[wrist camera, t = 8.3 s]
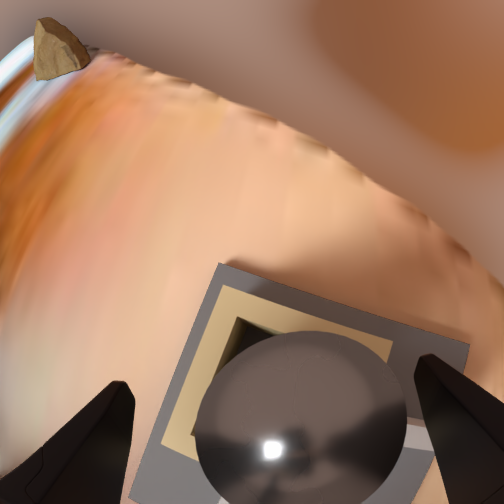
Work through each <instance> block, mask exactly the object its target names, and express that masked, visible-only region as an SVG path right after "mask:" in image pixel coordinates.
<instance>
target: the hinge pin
mask: <svg viewBox="0 0 504 504" xmlns="http://www.w3.org/2000/svg"><path fill="white" fill-rule="evenodd" d="M406 431H407V408H406V403H405V398H404V395H403V392H402V389H401V386H400V384H399V382H398V380H397V378H396V376H395V375H394V373H393V372H392V370H391V369H390V368H389V366H388V365H387V364H386V363H385V362H384V361H383V360H382V359H381V358H380V357H379V356H378V355H377V354H376V353H375V352H373V351H372V350H371V349H369V348H368V347H366V346H365V345H363V344H361V343H359V342H358V341H355V340H353V339H351V338H348V337H346V336H342V335H339V334H335V333H330V332H323V331H297V332H289V333H285V334H281V335H276V336H273V337H271V338H268V339H265V340H262V341H260V342H258V343H256V344H254V345H252V346H250V347H248V348H247V349H245V350H244V351H242V352H241V353H240V354H238V355H237V356H235V357H234V358H233V359H232V360H231V361H230V362H228V363H227V364H226V365H225V366H224V367H223V368H222V370H221V371H220V372H219V373H218V374H217V375H216V376H215V378H214V379H213V381H212V382H211V384H210V385H209V387H208V388H207V390H206V392H205V394H204V396H203V398H202V401H201V404H200V407H199V410H198V413H197V419H196V424H195V444H196V452H197V455H198V459H199V463H200V465H201V467H202V470H203V472H204V474H205V476H206V477H207V479H208V481H209V482H210V484H211V485H212V487H213V488H214V489H215V490H216V491H217V492H218V494H219V495H220V496H221V497H223V498H224V499H225V500H226V501H227V502H228V503H229V504H361V503H362V502H363V501H365V500H366V499H367V498H369V497H370V496H371V495H372V494H373V493H374V492H375V491H376V490H377V489H378V488H379V487H380V486H381V485H382V484H383V483H384V481H385V480H386V479H387V478H388V476H389V475H390V473H391V472H392V470H393V469H394V467H395V465H396V463H397V461H398V459H399V457H400V454H401V451H402V449H403V446H404V441H405V437H406Z"/></svg>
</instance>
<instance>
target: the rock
mask: <svg viewBox="0 0 504 504" xmlns="http://www.w3.org/2000/svg"><path fill="white" fill-rule="evenodd" d="M90 60H91V59H90V56H89V54H88V53H87V50H86V48H85V47H84V46H83V45H82V43H81V42H80V41H79V39H78V38H77V37H76V36H75V35H73V33H72V32H71V31H69V30H68V29H67V28H66V27H65V26H63V25H61V24H60V23H58V22H57V21H56V20H54V19H53V18H50V17H46V18H42V19H38V20H37V22H36V28H35V35H34V58H33V62H34V63H33V65H34V72H35V74H36V81H38V80H49V79H53V78H55V77H58V76H60V75H63V74H67V73H69V72H71V71H76V70H79V69H82V68H83V67H84V66H85V65H86V64H87V63H89V62H90Z"/></svg>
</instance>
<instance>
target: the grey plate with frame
mask: <svg viewBox="0 0 504 504" xmlns="http://www.w3.org/2000/svg"><path fill="white" fill-rule="evenodd" d="M297 331H323V332H330V333H335V334H339V335H342V336H346V337H348V338H351V339H353V340H355V341H358V342H359V343H361V344H363V345H365V346H366V347H368V348H369V349H371V350H372V351H373V352H375V353H376V354H377V355H378V356H379V357H380V358H381V359H382V360H383V361H384V362H385V363H386V364H387V365H388V366H389V368H390V369H391V370H392V372H393V373H394V375H395V376H396V378H397V380H398V382H399V384H400V386H401V389H402V392H403V395H404V398H405V403H406V408H407V431H406V437H405V441H404V446H403V449H402V451H401V454H400V457H399V459H398V461H397V463H396V465H395V467H394V469H393V470H392V472H391V473H390V475H389V476H388V478H387V479H386V480H385V481H384V483H383V484H382V485H381V486H380V487H379V488H378V489H377V490H376V491H375V492H374V493H373V494H372V495H371V496H370V497H369V498H367V499H366V500H365V501H363V502H362V503H361V504H411V503H412V501H413V499H414V497H415V495H416V493H417V491H418V489H419V488H420V486H421V484H422V482H423V480H424V478H425V475H426V473H427V471H428V469H429V467H430V465H431V463H432V460H433V458H434V456H435V453H434V450H433V447H432V443H431V440H430V437H429V434H428V432H427V429H426V426H425V423H424V419H423V415H422V411H421V407H420V403H419V398H418V394H417V390H416V386H415V382H414V371H415V368H416V365H417V362H418V359H419V357H420V356H421V355H424V354H429V353H432V354H435V355H436V356H437V357H439V358H440V359H442V360H443V361H445V362H446V363H447V364H449V365H450V366H452V367H453V368H455V369H456V370H457V371H459V372H460V373H462V374H463V372H464V368H465V364H466V360H467V356H468V352H469V347H470V344H467V343H464V342H460V341H457V340H454V339H450V338H447V337H444V336H440V335H437V334H434V333H431V332H428V331H424V330H421V329H418V328H415V327H411V326H408V325H405V324H402V323H399V322H396V321H392V320H389V319H386V318H383V317H380V316H377V315H374V314H371V313H367V312H364V311H361V310H358V309H355V308H352V307H349V306H346V305H343V304H340V303H337V302H334V301H331V300H328V299H325V298H322V297H319V296H316V295H313V294H310V293H307V292H304V291H301V290H298V289H295V288H292V287H289V286H286V285H283V284H280V283H277V282H274V281H271V280H268V279H265V278H262V277H259V276H257V275H254V274H251V273H248V272H245V271H242V270H239V269H236V268H233V267H231V266H228V265H225V264H222V263H218V266H217V268H216V270H215V273H214V275H213V278H212V280H211V283H210V285H209V287H208V290H207V292H206V295H205V297H204V300H203V302H202V304H201V307H200V309H199V312H198V314H197V317H196V319H195V322H194V324H193V327H192V329H191V332H190V334H189V337H188V339H187V342H186V344H185V347H184V349H183V352H182V354H181V357H180V359H179V362H178V364H177V367H176V370H175V372H174V375H173V377H172V380H171V382H170V385H169V388H168V390H167V393H166V395H165V398H164V401H163V403H162V406H161V409H160V411H159V414H158V417H157V419H156V422H155V425H154V427H153V430H152V433H151V435H150V438H149V441H148V443H147V446H146V449H145V452H144V454H143V457H142V460H141V463H140V465H139V468H138V471H137V474H136V477H135V479H134V482H133V485H132V488H131V491H130V494H129V496H128V498H130V499H132V500H133V501H135V502H137V503H139V504H229V503H228V502H227V501H226V500H225V499H224V498H223V497H221V496H220V495H219V494H218V492H217V491H216V490H215V489H214V488H213V487H212V485H211V484H210V482H209V481H208V479H207V477H206V476H205V474H204V472H203V470H202V467H201V465H200V463H199V459H198V455H197V452H196V444H195V424H196V419H197V413H198V410H199V407H200V404H201V401H202V398H203V396H204V394H205V392H206V390H207V388H208V387H209V385H210V384H211V382H212V381H213V379H214V378H215V376H216V375H217V374H218V373H219V372H220V371H221V370H222V368H223V367H224V366H225V365H226V364H227V363H228V362H230V361H231V360H232V359H233V358H234V357H235V356H237V355H238V354H240V353H241V352H242V351H244V350H245V349H247V348H248V347H250V346H252V345H254V344H256V343H258V342H260V341H262V340H265V339H268V338H271V337H273V336H276V335H281V334H285V333H289V332H297Z"/></svg>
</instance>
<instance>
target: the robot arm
mask: <svg viewBox="0 0 504 504" xmlns="http://www.w3.org/2000/svg"><path fill="white" fill-rule="evenodd" d="M414 382H415V386H416V390H417V394H418V398H419V403H420V407H421V411H422V415H423V419H424V423H425V426H426V429H427V432H428V434H429V437H430V440H431V443H432V447H433V450H434V453H435V456H436V459H437V462H438V466H439V469H440V472H441V476H442V479H443V483H444V486H445V490H446V494H447V497H448V501H449V504H504V403H503V402H501V401H500V400H498V399H497V398H496V397H494V396H493V395H491V394H490V393H489V392H487V391H486V390H484V389H483V388H482V387H480V386H479V385H477V384H476V383H475V382H473V381H472V380H470V379H469V378H467V377H466V376H465V375H463V374H462V373H460V372H459V371H457V370H456V369H455V368H453V367H452V366H450V365H449V364H447V363H446V362H445V361H443V360H442V359H440V358H439V357H437V356H436V355H435V354H432V353H429V354H424V355H421V356H420V357H419V359H418V362H417V365H416V368H415V371H414ZM134 412H135V398H134V395H133V394H132V392H131V390H130V388H129V387H128V385H127V383H126V382H125V381H112V382H111V383H110V384H109V385H107V386H106V387H105V388H104V389H103V390H102V391H101V392H100V393H99V394H98V395H97V396H96V397H94V398H93V399H92V400H91V401H90V402H89V403H88V404H87V405H86V406H85V407H84V408H83V409H81V410H80V411H79V412H78V413H77V414H76V415H75V416H74V417H73V418H72V419H71V420H70V421H69V422H67V423H66V424H65V425H64V426H63V427H62V428H61V429H60V430H59V431H58V432H57V433H56V434H54V435H53V436H52V437H51V438H50V439H49V440H48V441H47V442H46V443H45V444H44V445H43V447H40V448H39V449H38V450H37V451H36V452H35V453H34V454H33V455H31V456H30V457H29V458H28V459H27V460H26V461H24V462H23V463H22V464H21V465H19V466H18V467H17V468H15V469H14V470H13V471H11V472H10V473H9V474H7V475H6V476H5V477H3V478H2V479H0V504H120V500H121V494H122V488H123V483H124V478H125V472H126V467H127V462H128V457H129V452H130V447H131V441H132V431H133V421H134Z"/></svg>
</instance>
